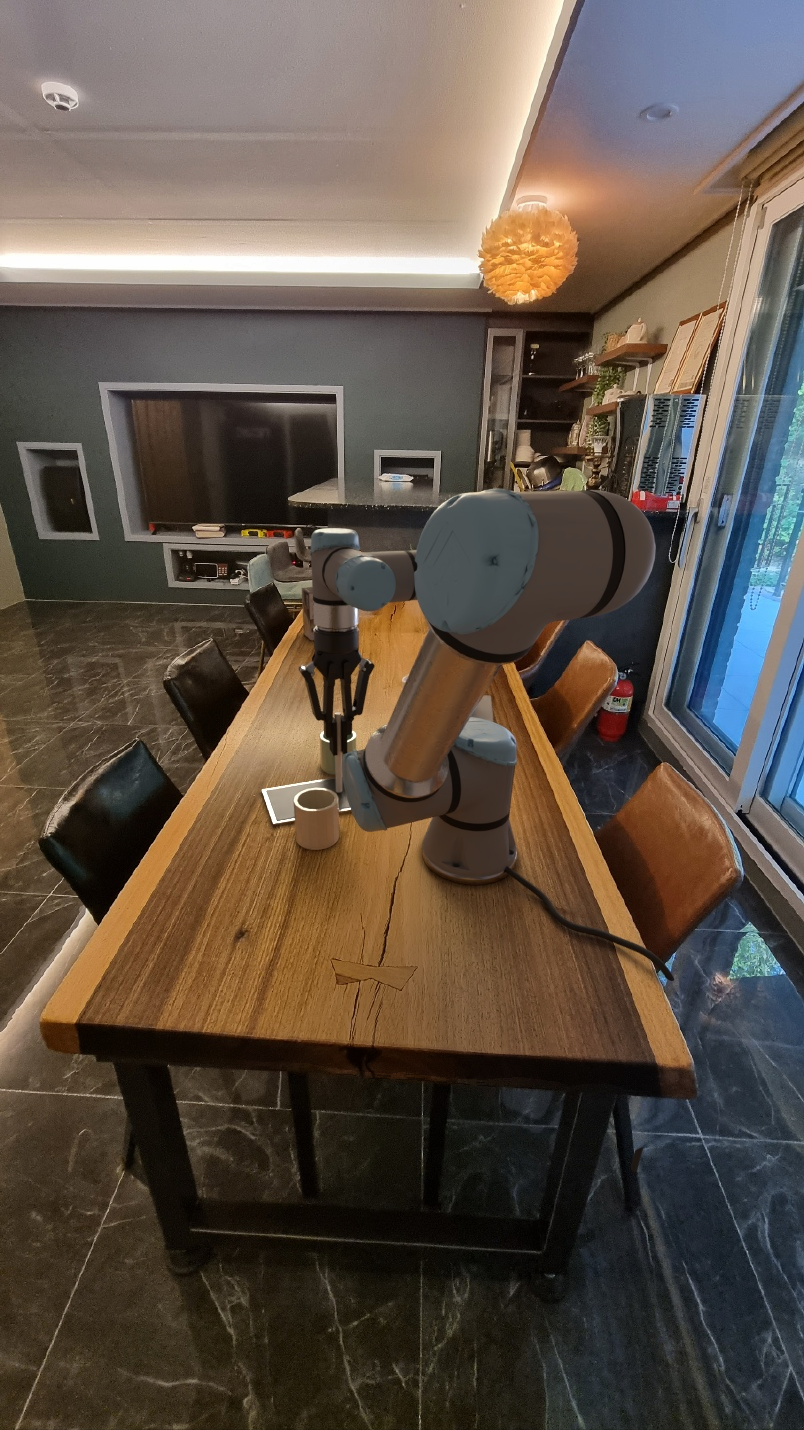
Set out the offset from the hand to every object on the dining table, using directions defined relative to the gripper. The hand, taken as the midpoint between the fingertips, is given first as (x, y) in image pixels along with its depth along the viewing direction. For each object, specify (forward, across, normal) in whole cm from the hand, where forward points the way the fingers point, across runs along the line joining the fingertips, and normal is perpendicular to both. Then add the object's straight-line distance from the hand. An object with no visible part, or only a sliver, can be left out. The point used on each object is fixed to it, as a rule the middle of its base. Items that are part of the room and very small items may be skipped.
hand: (338, 751), depth 111 cm
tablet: (+10, +5, 0) cm, 11 cm away
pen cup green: (+10, -3, -11) cm, 15 cm away
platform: (+10, -43, -31) cm, 54 cm away
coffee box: (+10, -21, -103) cm, 106 cm away
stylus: (+8, 0, 0) cm, 8 cm away
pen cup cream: (+10, +7, +11) cm, 16 cm away
